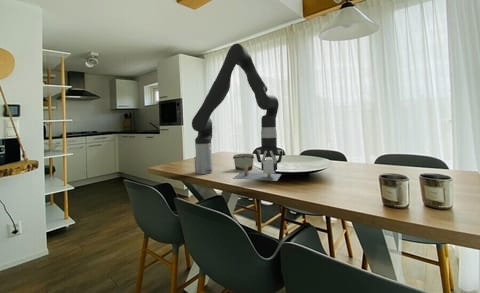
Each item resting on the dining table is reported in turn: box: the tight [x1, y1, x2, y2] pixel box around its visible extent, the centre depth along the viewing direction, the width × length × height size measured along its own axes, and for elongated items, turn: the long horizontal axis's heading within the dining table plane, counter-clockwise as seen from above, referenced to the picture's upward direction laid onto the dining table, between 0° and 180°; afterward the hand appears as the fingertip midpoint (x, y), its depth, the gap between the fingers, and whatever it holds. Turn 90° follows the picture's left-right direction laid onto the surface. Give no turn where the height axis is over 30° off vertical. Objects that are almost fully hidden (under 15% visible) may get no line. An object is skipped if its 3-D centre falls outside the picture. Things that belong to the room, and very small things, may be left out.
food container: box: [232, 153, 255, 171], centre depth 139 cm, size 12×6×10 cm, turn 84°
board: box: [232, 166, 282, 182], centre depth 120 cm, size 22×14×6 cm, turn 72°
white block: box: [262, 158, 276, 174], centre depth 117 cm, size 5×5×6 cm
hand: (269, 170), depth 118 cm, fingers closed on white block, 5 cm apart
